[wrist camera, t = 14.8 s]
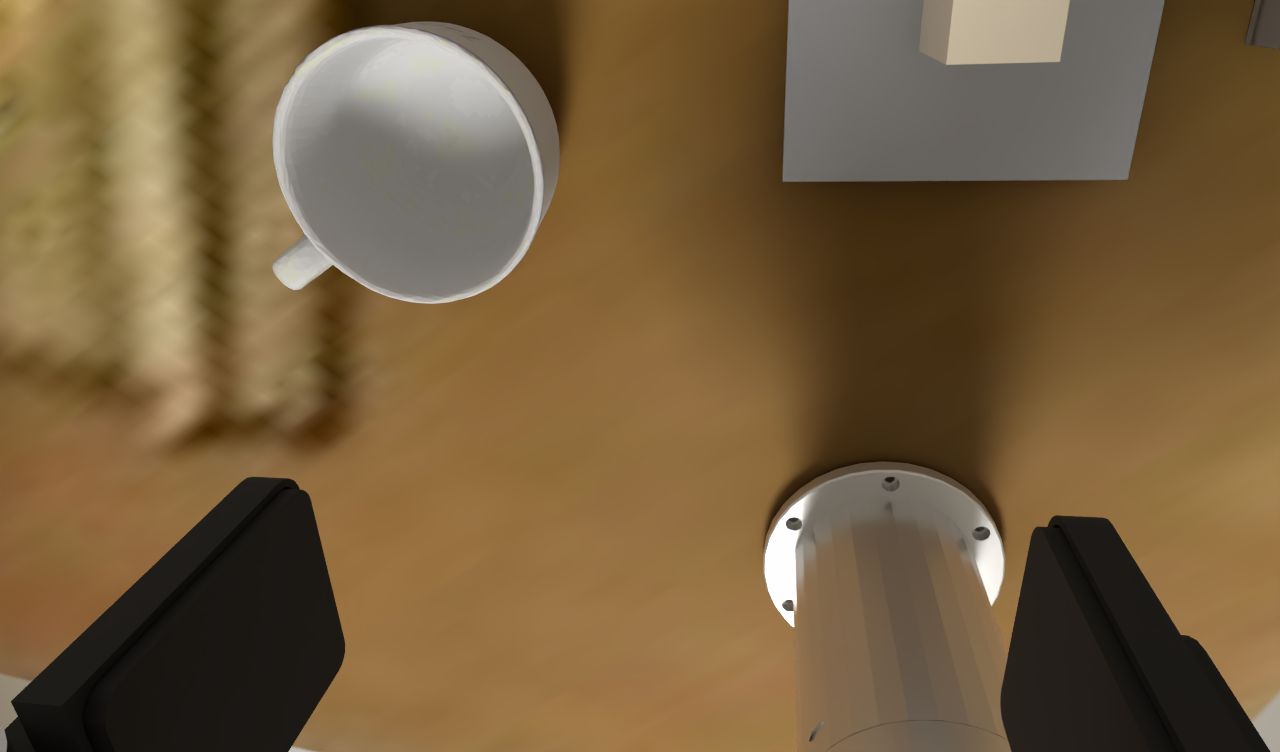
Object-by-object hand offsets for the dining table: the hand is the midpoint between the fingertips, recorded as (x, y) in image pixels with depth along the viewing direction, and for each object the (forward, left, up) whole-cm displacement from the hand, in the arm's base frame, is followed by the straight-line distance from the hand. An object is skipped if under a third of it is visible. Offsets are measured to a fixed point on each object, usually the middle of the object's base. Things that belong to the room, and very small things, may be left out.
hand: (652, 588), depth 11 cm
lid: (+6, -9, -31) cm, 32 cm away
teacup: (0, +14, -31) cm, 34 cm away
